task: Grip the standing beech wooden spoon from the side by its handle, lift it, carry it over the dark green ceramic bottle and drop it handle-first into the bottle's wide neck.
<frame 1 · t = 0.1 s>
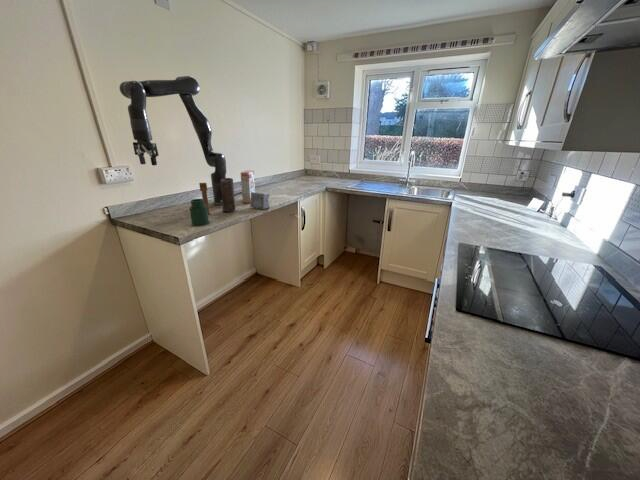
hand: (148, 164, 129), 29 cm above the worktop, tool pointing down, fingers open, 8 cm apart
cracker box: (249, 201, 186), on the worktop
incense holder: (260, 208, 169), on the worktop
candle: (229, 211, 160), on the worktop
wooden spoon: (207, 214, 153), on the worktop
bottle: (200, 223, 138), on the worktop
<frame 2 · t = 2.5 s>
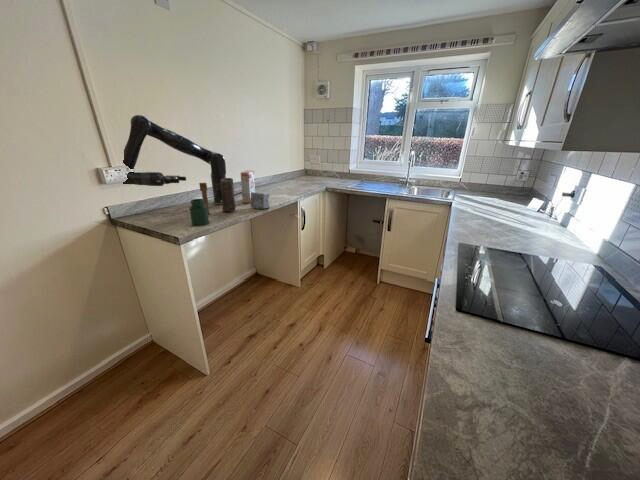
hand: (182, 179, 145), 20 cm above the worktop, tool horizontal, fingers open, 8 cm apart
nothing on the worktop moved.
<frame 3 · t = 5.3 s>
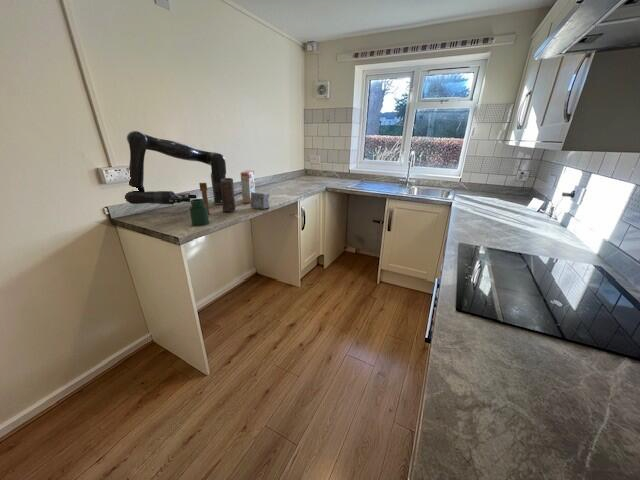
hand: (193, 198, 149), 10 cm above the worktop, tool horizontal, fingers open, 8 cm apart
nothing on the worktop moved.
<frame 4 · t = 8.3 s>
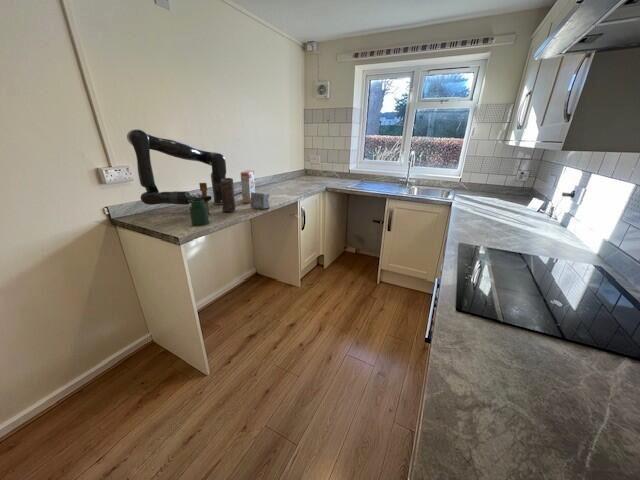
hand: (210, 198, 150), 10 cm above the worktop, tool horizontal, fingers closed on wooden spoon, 2 cm apart
wooden spoon: (207, 214, 153), on the worktop, touching gripper
everything else where it was.
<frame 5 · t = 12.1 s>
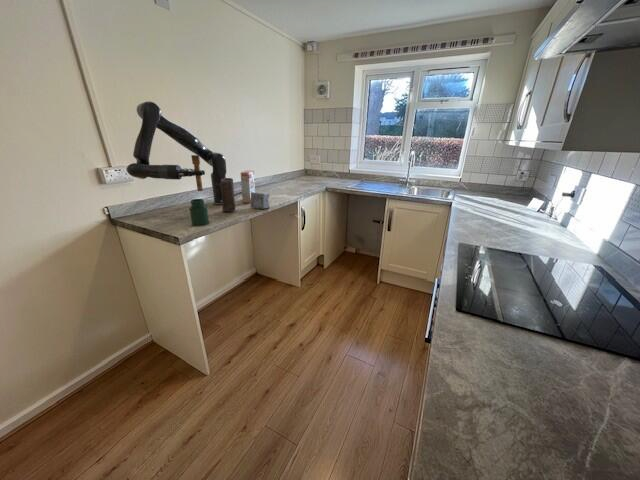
hand: (203, 173, 137), 25 cm above the worktop, tool horizontal, fingers closed on wooden spoon, 2 cm apart
wooden spoon: (200, 190, 141), point 15 cm above the worktop, touching gripper
everything else where it was.
when the fingers open (19 cm above the worktop, at t = 15.9 s): wooden spoon drops 9 cm, resting on bottle.
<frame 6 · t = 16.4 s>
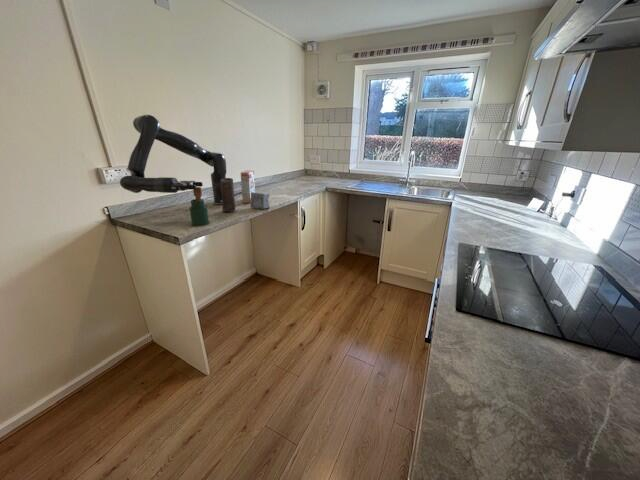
hand: (199, 185, 130), 20 cm above the worktop, tool horizontal, fingers open, 8 cm apart
wooden spoon: (200, 221, 137), point 1 cm above the worktop, touching bottle
everything else where it was.
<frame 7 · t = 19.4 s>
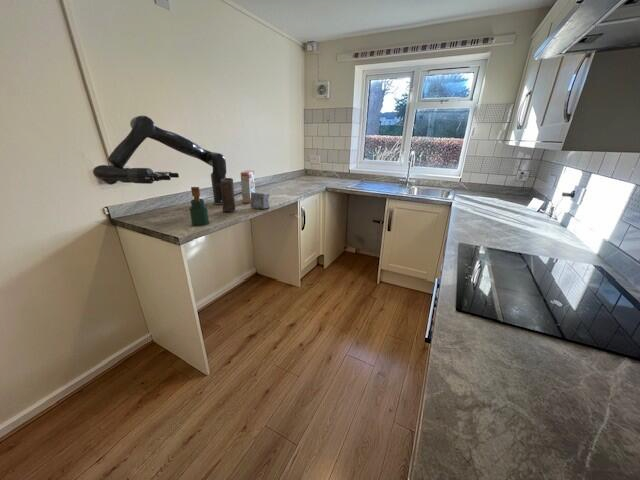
hand: (174, 176, 129), 24 cm above the worktop, tool horizontal, fingers open, 8 cm apart
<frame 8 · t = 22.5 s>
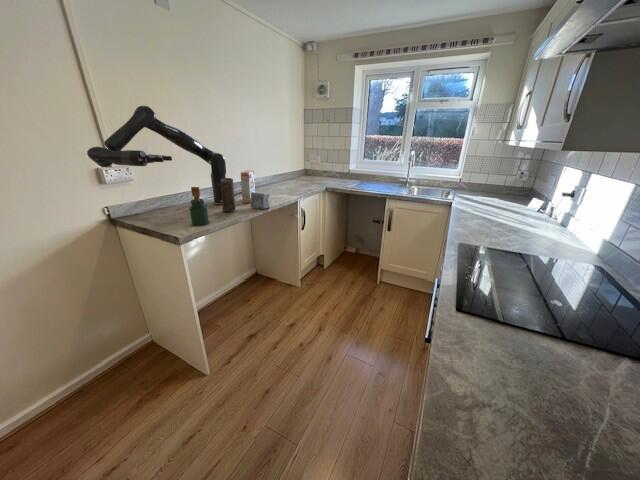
hand: (167, 159, 130), 32 cm above the worktop, tool horizontal, fingers open, 8 cm apart
nothing on the worktop moved.
at the end: wooden spoon 0.1 cm off-centre in the bottle, point 0.8 cm above the bottle's base; wooden spoon tilted 0°; the gripper is holding nothing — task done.
